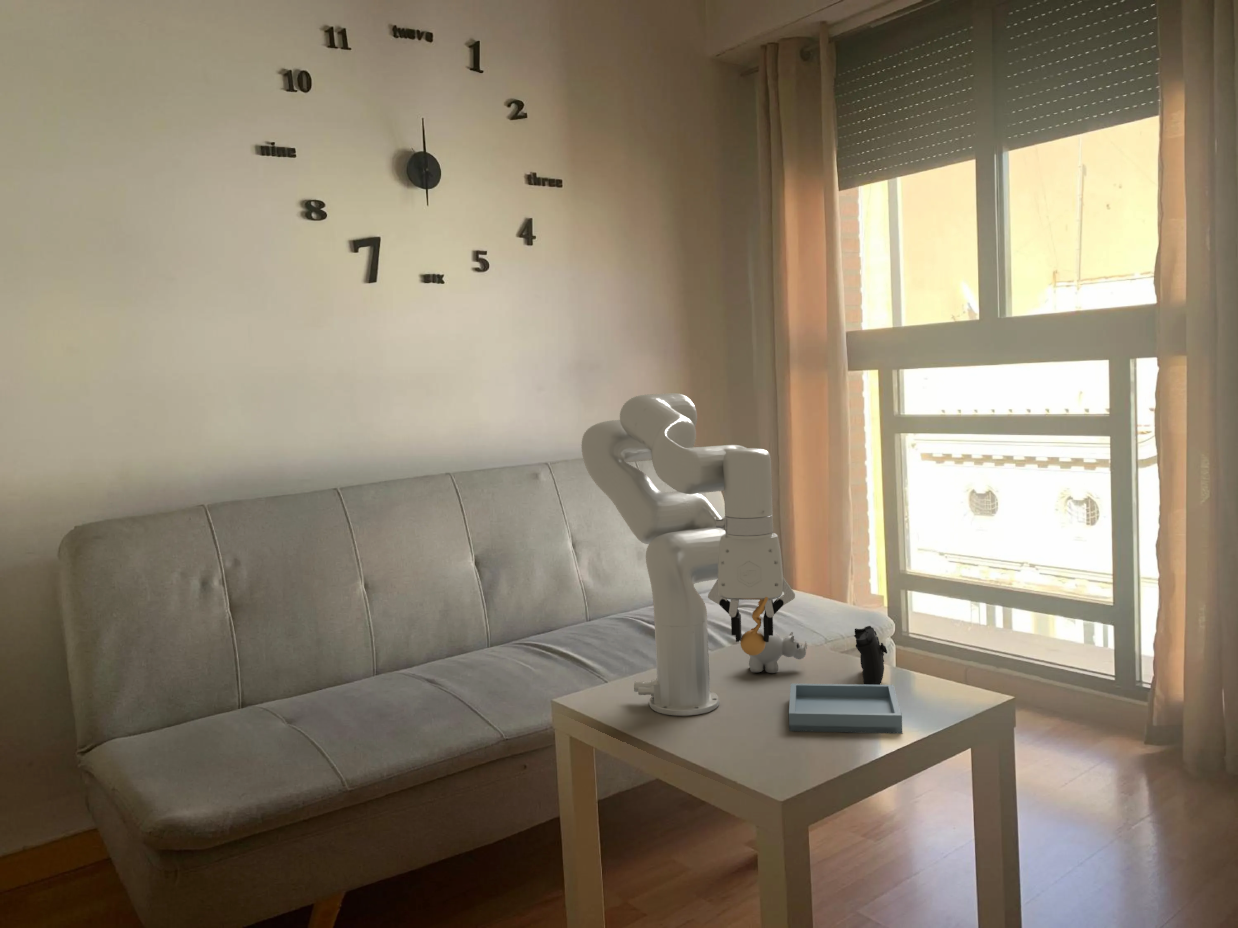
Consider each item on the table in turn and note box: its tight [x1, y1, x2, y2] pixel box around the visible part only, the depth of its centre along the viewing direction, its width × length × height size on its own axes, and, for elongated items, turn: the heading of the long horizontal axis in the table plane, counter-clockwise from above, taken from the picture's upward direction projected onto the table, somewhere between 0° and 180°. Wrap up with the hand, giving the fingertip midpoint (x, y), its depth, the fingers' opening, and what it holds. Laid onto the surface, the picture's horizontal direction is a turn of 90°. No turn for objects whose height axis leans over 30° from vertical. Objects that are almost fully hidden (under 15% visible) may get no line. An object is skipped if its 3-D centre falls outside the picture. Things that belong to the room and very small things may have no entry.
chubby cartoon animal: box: [748, 627, 808, 674], centre depth 194 cm, size 7×12×8 cm, turn 84°
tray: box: [788, 683, 903, 734], centre depth 166 cm, size 18×16×3 cm
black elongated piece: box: [853, 625, 888, 685], centre depth 184 cm, size 14×6×10 cm, turn 168°
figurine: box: [739, 597, 768, 656], centre depth 155 cm, size 8×6×12 cm
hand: (752, 638), depth 155 cm, fingers closed on figurine, 3 cm apart
